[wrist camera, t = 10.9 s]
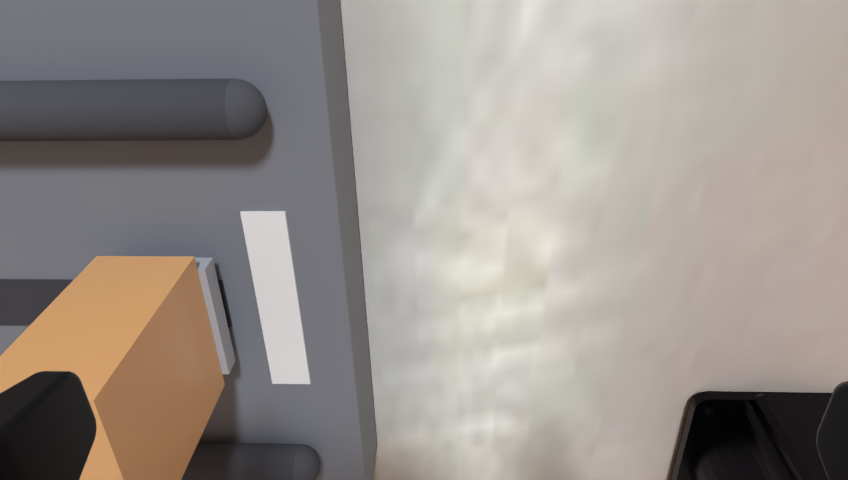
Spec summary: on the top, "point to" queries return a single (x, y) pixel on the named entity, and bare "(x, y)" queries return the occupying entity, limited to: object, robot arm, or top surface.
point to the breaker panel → (209, 202)
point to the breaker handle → (135, 358)
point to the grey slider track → (158, 121)
